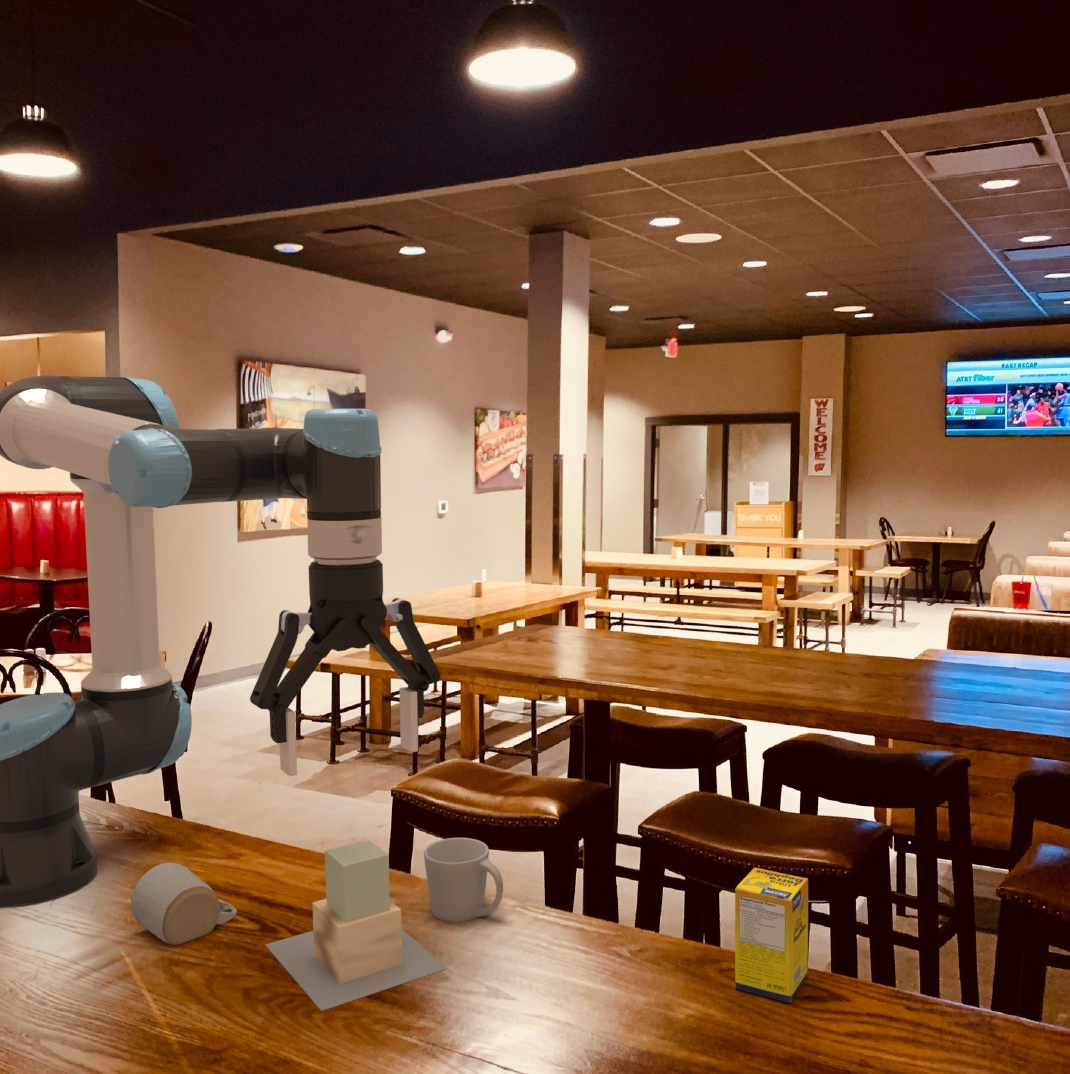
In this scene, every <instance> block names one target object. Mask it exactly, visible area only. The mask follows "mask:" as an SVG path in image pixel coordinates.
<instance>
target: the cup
mask: <svg viewBox="0 0 1070 1074" xmlns="http://www.w3.org/2000/svg"><path fill="white" fill-rule="evenodd" d="M489 853H490V849H489V847H488V845H487V844H486V843H485V842H483V841H481V840H478V839H474V838H468V837H449V838H444V839H439V840H436V841H434V842H432V843H430V844H428V845H427V846H426V847H425V849H424V850H423V857H424V865H425V874H426V880H427V888H428V889H427V890H428V895H429V900H430V901H429V902H430V906H431V907H430V908H431V911H432V915H433V916H434V917H435V918H436V919H439V920H441V921H444V922H451V923H461V922H466V921H471V920H474V919H477V918H479V917H485V916H487V915H489V914H491V913H492V912H495V911H496V909H497V908H498V907H499V905H500V904H501V901H502V899H503V893H504V881H503V877H502V874H501V872H500V870H499V868H498V867H497V866H496V865H494V864H493V863H492V862H491V861H490V860H489ZM488 873H489V874H490V875H491V876H492V878H493V880H494V883H495V890H496V893H495V898H494V900H493V902H492V903H491V904H489V905H485V904H484V902H485V895H486V888H487V879H488V878H487V876H488Z"/></svg>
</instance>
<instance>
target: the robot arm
mask: <svg viewBox="0 0 1070 1074" xmlns="http://www.w3.org/2000/svg"><path fill="white" fill-rule="evenodd" d="M303 420H304V421H303V428H296V427H295V428H291V427H289V428H287V427H275V426H273V427H259V428H215V429H199V428H198V429H197V428H196V429H195V428H194V429H193V428H191V429H190V428H181V427H180V425H181V424H180V421H179V416H178V413H177V409H176V408H175V406H174V403H173V401H172V400H171V398H170V397H169V395H168V394H167V392H166V391H165V390H164V389H163V387H161V385H159V384H157V383H156V382H154V381H152V380H149V379H143V378H135V377H134V378H133V377H127V376H125V377H124V376H121V375H120V376H75V375H74V376H72V375H71V376H70V375H63V376H62V375H51V374H50V375H49V374H48V375H47V374H46V375H35V376H30V377H25V378H21V379H19V380H16V381H13V382H10V383H9V384H8V385H6V386H5V387H3V388H2V389H1V390H0V457H2V458H3V459H5V460H6V461H8V462H11V463H13V464H16V465H18V466H21V467H23V468H27V469H31V470H45V469H51V468H55V469H58V470H62V471H65V472H68V473H69V478H70V482H72V484H73V485H74V486H76V487H77V488H78V489H79V490H81V492H82V494H83V506H84V507H83V508H84V509H83V510H84V525H85V527H84V529H85V530H84V531H85V548H86V549H85V551H86V565H87V567H86V568H87V569H86V570H87V588H88V607H89V608H88V609H89V626H90V627H89V629H90V646H91V647H90V648H91V666H92V668H91V670H90V671H89V673H87V674H86V675H85V677H84V678H83V679H82V680H81V681H80V691H81V694H80V695H81V697H80V699H77V700H73V697H72V696H70V695H69V694H67V693H63V692H45V693H41V694H30V695H26V696H22V697H18V698H14V699H12V700H9V701H6V702H3V703H1V704H0V907H10V906H11V907H13V906H24V905H28V904H29V905H31V904H36V903H41V902H44V901H49V900H52V899H57V898H60V897H62V896H65V895H67V894H69V893H73V892H74V891H76V890H79V889H80V888H82V887H84V886H86V885H87V884H88V883H90V882H91V881H92V880H93V879H94V878H95V877H96V875H97V873H98V870H99V869H98V856H97V855H98V853H97V851H96V849H95V846H94V844H93V842H92V839H91V837H90V835H89V832H88V830H87V828H86V825H85V823H84V821H83V819H82V816H81V813H80V798H79V797H80V795H79V793H80V791H82V790H86V789H90V788H95V787H98V786H101V785H105V784H110V783H113V782H115V781H120V780H122V779H123V780H124V779H128V778H131V777H135V776H139V775H147V774H151V773H154V772H155V771H157V770H159V769H163V768H166V767H168V766H171V765H173V764H174V763H176V762H177V761H178V760H179V759H180V758H181V756H182V755H184V753H185V751H186V750H187V748H188V744H189V742H190V738H191V733H192V726H193V725H192V724H193V721H192V718H193V717H192V708H191V704H190V703H188V695H187V694H186V691H185V690H184V689H183V688H182V687H181V686H180V685H179V684H178V683H176V682H173V674H172V673H171V672H170V670H168V669H166V668H165V667H164V666H163V665H162V664H161V662H160V661H161V660H160V639H159V638H160V637H159V634H160V633H159V619H158V617H159V615H158V614H159V613H158V595H157V594H158V593H157V590H158V589H157V588H158V587H157V567H156V565H157V564H156V548H155V547H156V546H155V545H156V544H155V543H156V542H155V527H154V526H155V520H154V509H155V508H156V509H165V508H168V507H172V506H181V505H182V506H183V505H198V504H209V503H226V502H228V503H229V502H241V501H242V502H245V501H259V500H261V501H262V500H270V499H271V500H274V499H297V500H299V499H301V500H303V499H304V500H306V508H307V509H306V518H307V520H306V521H307V555H308V556H309V557H310V558H311V559H313V561H311V562H310V564H309V565H308V588H309V590H308V591H309V592H308V593H309V594H308V595H309V603H310V604H309V608H308V610H307V612H292V611H290V610H288V609H287V610H286V609H285V610H284V609H283V610H282V611H281V612H280V613H279V615H278V629H277V634H276V636H275V638H274V641H273V643H272V646H271V648H270V650H269V653H268V655H267V657H266V659H265V662H264V664H263V667H262V669H261V671H260V673H259V675H258V678H257V679H256V683H255V684H254V687H253V689H252V692H251V694H250V696H249V700H250V702H251V703H252V704H253V705H254V706H255V707H257V708H258V709H260V710H268V711H269V730H270V731H269V733H270V735H269V736H270V738H271V740H272V741H273V742H275V743H276V744H279V765H280V767H279V769H280V770H281V771H283V773H285V774H286V775H287V776H288V777H293V776H297V775H298V766H297V765H298V762H297V759H298V758H297V757H298V756H297V733H296V732H297V731H296V712H295V711H294V710H293V709H292V708H289V707H290V706H291V704H292V702H293V701H294V700H295V699H296V697H297V696H298V694H299V693H300V691H301V690H302V689H303V687H304V686H305V685H306V683H307V681H308V679H309V678H310V677H311V676H312V675H313V673H314V671H315V670H316V669H317V667H318V666H319V665H320V663H321V662H322V661H323V659H325V658H327V656H328V655H329V654H330V652H331V651H336V652H345V651H347V650H349V649H352V648H353V649H357V650H359V649H360V650H361V649H366V648H367V646H368V645H370V646H371V647H372V648H373V649H374V650H375V652H377V653H378V655H380V657H381V658H382V659H383V660H384V661H385V662H386V663H387V665H388V666H389V667H390V668H392V670H393V671H394V672H395V673H396V674H397V675H398V676H399V677H400V678H401V680H402V681H403V682H404V683H405V685H407V686H402V687H401V686H400V687H399V688H398V689H399V723H400V724H399V726H400V727H399V728H400V731H399V732H400V733H399V734H400V747H401V748H404V749H406V750H407V751H409V752H411V753H416V752H418V751H419V725H418V724H419V723H418V719H423V717H424V715H425V692H427V691H428V690H429V688H430V684H431V683H437V682H438V681H440V678H441V673H440V671H439V669H438V667H437V665H436V663H435V661H434V659H433V657H432V655H431V653H430V651H429V649H428V647H427V646H426V643H425V641H424V639H423V636H422V635H421V633H420V631H419V629H418V627H417V625H416V623H415V621H414V614H413V608H412V603H411V602H410V601H408V600H405V599H403V598H399V597H396V598H393V599H392V600H391V602H386V603H384V600H383V595H384V573H383V571H384V568H383V567H384V566H383V563H382V562H381V560H379V559H377V557H378V556H380V555H381V554H382V553H383V533H382V532H383V531H382V529H383V528H382V527H383V526H382V510H381V509H382V482H381V481H382V478H381V477H382V476H381V475H382V474H381V473H382V472H381V470H382V469H381V466H382V465H381V453H382V451H383V449H382V446H381V440H380V430H379V419H378V416H377V415H376V413H375V412H374V411H373V410H372V409H368V408H313V409H309V410H307V411H306V413H305V414H304V419H303ZM387 616H388V618H389V620H390V621H393V622H394V625H395V627H396V629H397V632H398V633H399V635H400V637H401V639H402V641H403V643H404V645H405V647H406V649H407V650H408V653H409V655H410V657H411V659H412V661H413V663H414V665H415V666H416V669H417V670H416V669H415V668H414V667H413V666H412V665H411V664H410V663H409V662H408V660H407V659H406V658H405V657H404V655H402V654H401V653H400V651H399V650H398V649H397V648H396V647H395V646H394V645H393V643H391V640H390V639H389V638H388V637H387V635H386V634H385V633H384V632H383V631H382V630H381V629H380V628H381V626H382V625H383V623H384V621H386V618H387ZM307 625H308V626H309V628H310V629H311V630H312V632H313V633H312V634H311V636H310V637H309V638H308V640H307V641H306V643H305V645H304V648H303V650H302V652H301V653H300V654H299V655H298V657H297V658H296V660H295V661H294V663H293V664H292V665H291V667H290V668H289V670H288V671H287V673H286V674H285V676H284V677H283V678H282V676H283V674H284V672H285V669H286V667H287V664H288V663H289V660H290V658H291V655H292V653H293V650H294V648H295V646H296V644H297V642H298V641H297V640H298V638H299V635H300V634H302V633H303V632H304V629H305V626H307Z"/></svg>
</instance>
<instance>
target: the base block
mask: <svg viewBox="0 0 1070 1074" xmlns="http://www.w3.org/2000/svg"><path fill="white" fill-rule="evenodd" d="M312 925H313V926H312V927H313V930H312V931H314V956H315V957H316V958H317V959H318V960H319V961H320V963H321V964H322V965H323V966H324V967H325V968H326V969H327V970H328V971H329V972H330V973H331V974H332V975H333V977H334V978H335V979H336V980H337V981H338V982H339V983H340V984H343V983H346V982H349V981H352V980H355V979H358V978H361V977H364V976H367V975H370V974H373V973H376V972H380V971H383V970H386V969H389V968H392V967H395V966H398V965H401V964H402V929H403V928H402V909H401V908H400V907H399V906H398V905H396V904H395V903H394V902H392V901H391V900H390V910H388V911H385V912H381V913H378V914H374V915H371V916H368V917H364V918H361V919H357V920H354V921H351V922H347V923H345V922H344V921H343V920H342V919H341V918H340V917H339V916H338V915H337V914H336V913H335V912H334V911H333V910H332V909H330V908H329V907H328V906H327V902H326V898H323V899H321V900H317V901H312ZM401 928H402V929H401Z"/></svg>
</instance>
